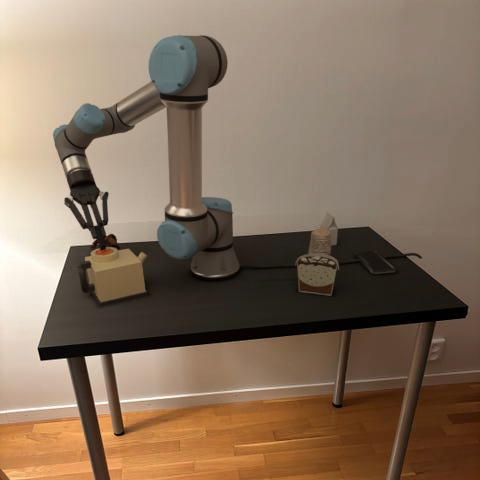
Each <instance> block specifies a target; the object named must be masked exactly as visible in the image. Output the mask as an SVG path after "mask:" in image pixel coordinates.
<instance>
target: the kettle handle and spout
mask: <svg viewBox="0 0 480 480" xmlns="http://www.w3.org/2000/svg"><path fill="white" fill-rule="evenodd" d="M136 257H137V258H138V259H139V260H140V261H141V262H142V265H143V264H144V263H145V261H146V260H147V258H148V257H149V256H148V255H147V254H146V253H145V252H143V251H141V252H140V253H139V254H138V256H136ZM76 268H77V269H76V270H77V273H78V278H79V283H80V289H81V292H82V293H83V294H88V293H90V294H91V295H92V296H93V298H94V299H95V302H97V304H98V306H99V307H104V306H108V305H112V304H117V303H121V302H124V301H128V300H132V299H137V298H142V297H145V296H148V295H149V291H148V290H147V289H146V288H145V291H146V292H142V293H138V294H134V295H129V296H125V297H121V298H117V299H113V300H108V301H104V302H100V300H99V299H98V297H97V296H96V294H95V293H94V291H95V286H94V284H93V283H92V284H90V283H89V282H88V281H89V280H88V275H87V272H86V271H87V269H89V268H91V262H90V261H85V260H84V261H79V263H78V264H77V265H76Z"/></svg>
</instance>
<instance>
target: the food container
mask: <svg viewBox="0 0 480 480" xmlns="http://www.w3.org/2000/svg"><path fill="white" fill-rule="evenodd" d="M338 261H339V260H337V259H336V258H335V257H333V256H332V255H330V256H329V255H325V254H308V253H307V254H303V255H301V256H299V257H297V259H296V261H295V263H294V264H295V266H296V265H297V267H296V269H297V282H298V292H300V293H306V294H314V295H323V296H328V297H329V296H330V297H332V294H333V290H334V285H335V281H336V274H337V270H338V271H340V264H338Z"/></svg>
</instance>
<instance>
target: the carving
mask: <svg viewBox="0 0 480 480" xmlns="http://www.w3.org/2000/svg"><path fill="white" fill-rule="evenodd" d="M331 243H332V235H331V232H330V231H329V230H326V229H321V228H316V229H314V230H313V231H311V233H310V240H309V247H308V253H307V254H325V255H329V256H331V254H332V245H331Z"/></svg>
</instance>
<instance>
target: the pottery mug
mask: <svg viewBox="0 0 480 480" xmlns="http://www.w3.org/2000/svg"><path fill="white" fill-rule="evenodd" d="M104 240H105V243H106V247H113V248H116V249H117V250H118V251H119V250H122V248H121V246H120V245H119V243H118V239H117V236H116V235H115V234H114V233H109V234H108V235H107V234H106V237H105V238H104ZM91 243H92V244H91V245H90V246H89V250H90V251H91V252H92V251H93V250H95V249H98V248H99V245H98V242H97V239H94V241H93V242H91Z"/></svg>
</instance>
